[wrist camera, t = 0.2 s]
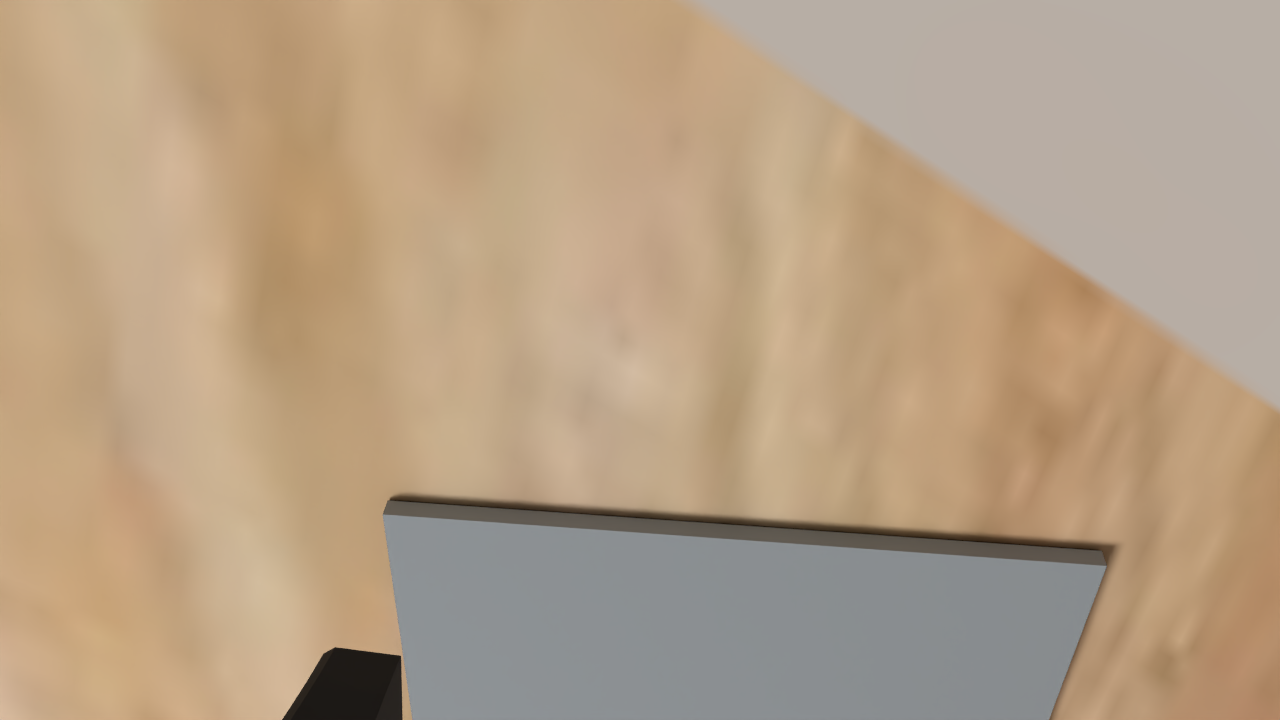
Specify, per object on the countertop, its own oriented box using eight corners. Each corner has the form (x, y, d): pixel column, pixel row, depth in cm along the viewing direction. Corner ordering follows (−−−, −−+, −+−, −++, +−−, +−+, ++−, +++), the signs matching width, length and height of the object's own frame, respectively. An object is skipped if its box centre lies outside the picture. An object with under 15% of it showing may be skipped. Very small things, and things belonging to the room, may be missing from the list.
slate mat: (1012, 791, 27) (1016, 807, 27) (422, 745, 28) (418, 759, 28) (1101, 551, 23) (1107, 565, 22) (388, 500, 23) (382, 514, 23)
